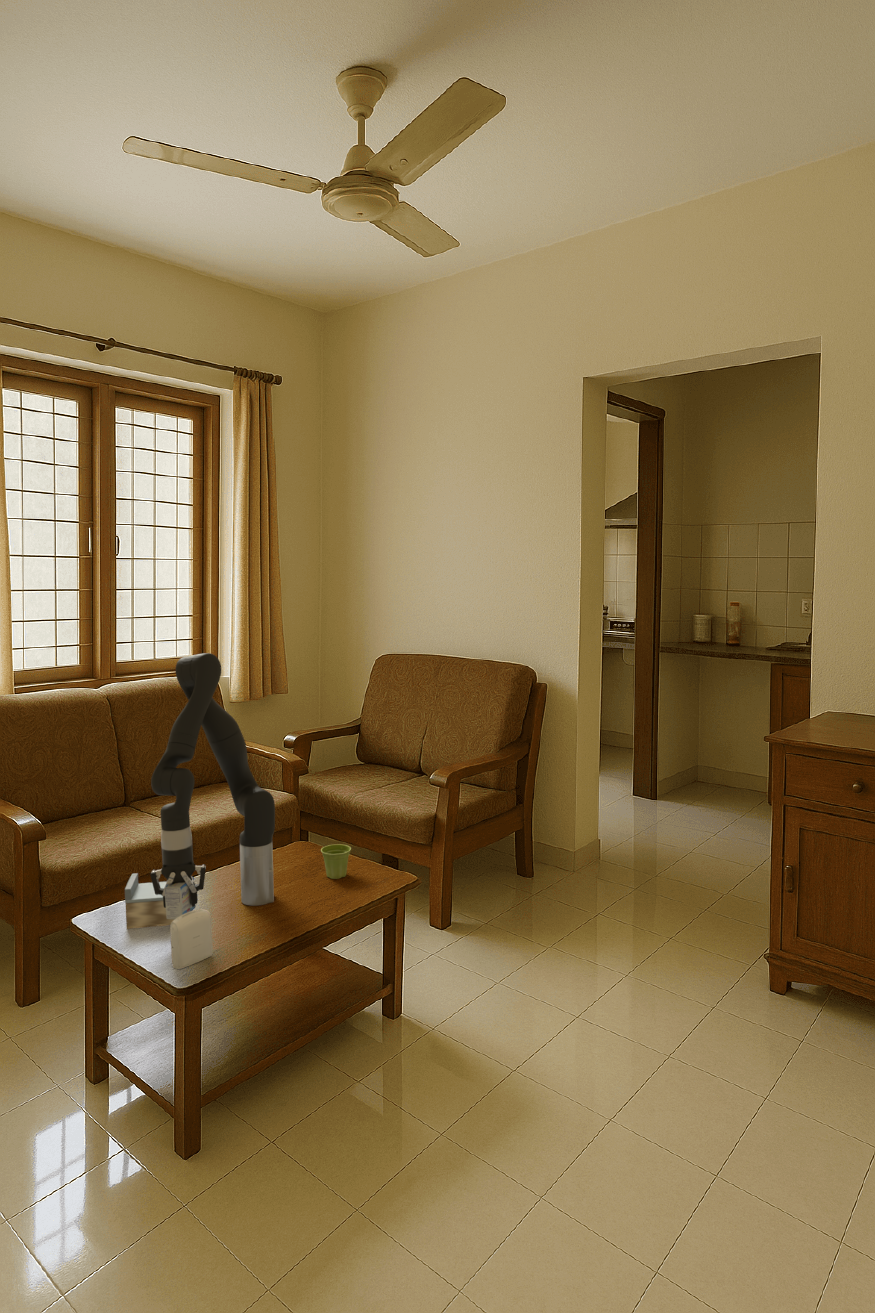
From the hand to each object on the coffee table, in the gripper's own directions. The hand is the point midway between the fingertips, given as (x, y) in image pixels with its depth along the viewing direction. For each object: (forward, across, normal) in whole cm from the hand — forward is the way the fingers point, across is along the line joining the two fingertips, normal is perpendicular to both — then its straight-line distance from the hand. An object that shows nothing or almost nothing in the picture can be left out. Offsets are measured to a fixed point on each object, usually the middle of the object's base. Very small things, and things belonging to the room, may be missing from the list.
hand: (180, 906), depth 212 cm
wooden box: (+8, +8, -14) cm, 18 cm away
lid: (+1, +8, -14) cm, 16 cm away
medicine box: (+2, 0, 0) cm, 2 cm away
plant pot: (+10, -44, -35) cm, 57 cm away
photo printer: (+8, -3, +15) cm, 17 cm away
